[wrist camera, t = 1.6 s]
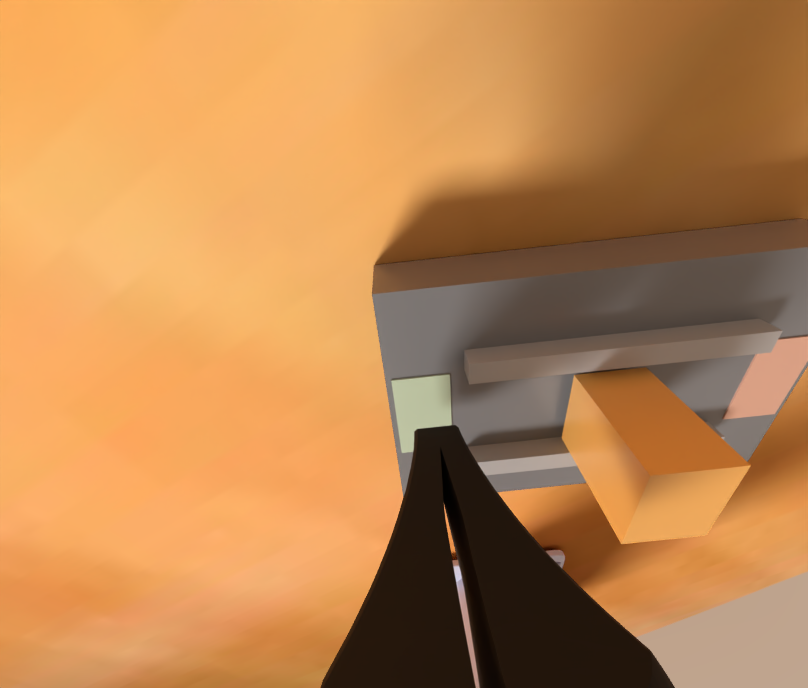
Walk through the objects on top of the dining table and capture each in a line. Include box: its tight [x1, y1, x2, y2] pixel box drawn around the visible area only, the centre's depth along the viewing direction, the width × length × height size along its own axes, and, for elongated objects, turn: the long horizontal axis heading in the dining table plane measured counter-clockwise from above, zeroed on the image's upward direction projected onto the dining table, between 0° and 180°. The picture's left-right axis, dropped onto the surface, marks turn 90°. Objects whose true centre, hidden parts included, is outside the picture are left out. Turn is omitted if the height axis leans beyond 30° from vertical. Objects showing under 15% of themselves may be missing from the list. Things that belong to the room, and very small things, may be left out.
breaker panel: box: [372, 219, 808, 497], centre depth 14 cm, size 10×15×3 cm, turn 96°
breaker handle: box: [562, 367, 751, 544], centre depth 11 cm, size 3×2×4 cm
